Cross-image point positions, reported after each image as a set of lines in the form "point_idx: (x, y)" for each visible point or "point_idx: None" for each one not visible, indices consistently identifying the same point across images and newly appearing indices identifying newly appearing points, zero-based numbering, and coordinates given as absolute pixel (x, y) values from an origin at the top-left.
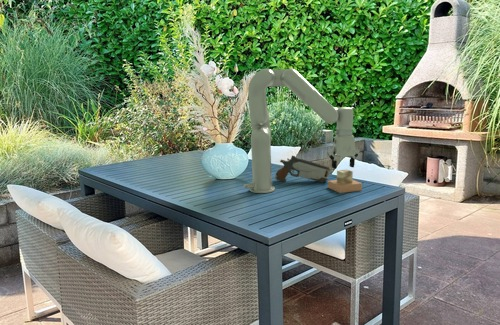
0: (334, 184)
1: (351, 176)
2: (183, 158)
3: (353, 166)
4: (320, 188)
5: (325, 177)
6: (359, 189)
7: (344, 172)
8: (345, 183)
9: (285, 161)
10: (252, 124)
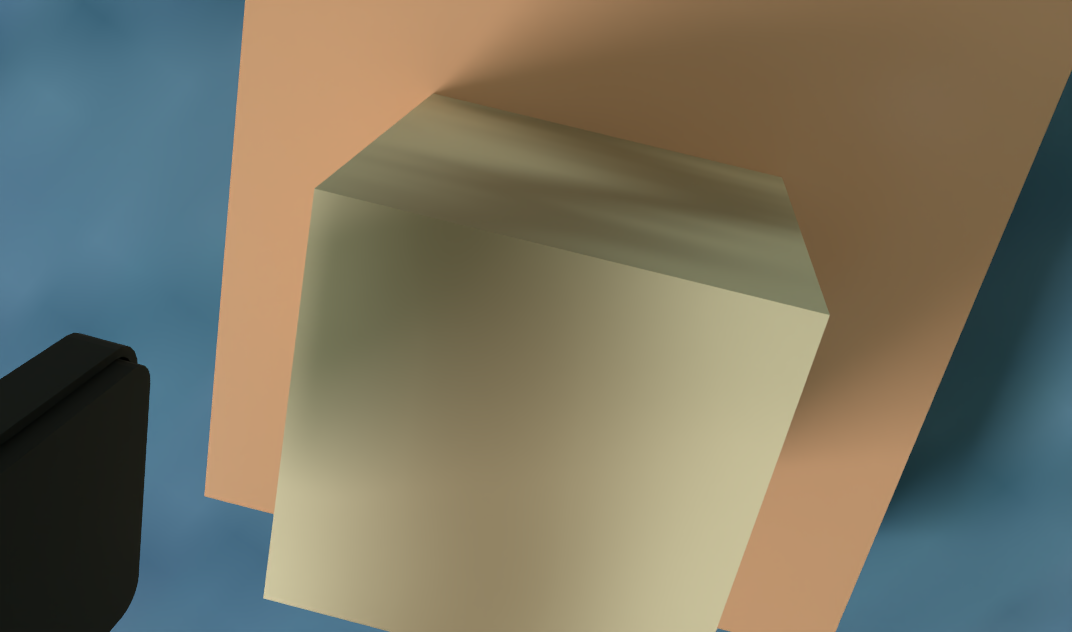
0: (951, 326)
1: (424, 146)
2: None
3: (86, 352)
4: (999, 591)
5: None
6: None
7: (727, 292)
8: (701, 130)
9: None
10: None
